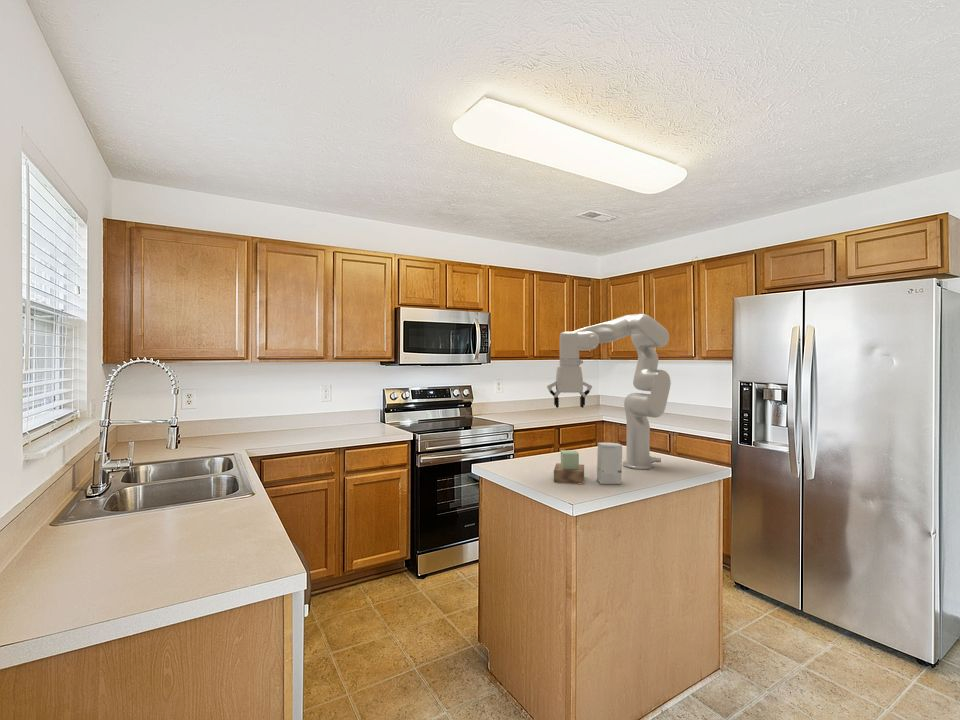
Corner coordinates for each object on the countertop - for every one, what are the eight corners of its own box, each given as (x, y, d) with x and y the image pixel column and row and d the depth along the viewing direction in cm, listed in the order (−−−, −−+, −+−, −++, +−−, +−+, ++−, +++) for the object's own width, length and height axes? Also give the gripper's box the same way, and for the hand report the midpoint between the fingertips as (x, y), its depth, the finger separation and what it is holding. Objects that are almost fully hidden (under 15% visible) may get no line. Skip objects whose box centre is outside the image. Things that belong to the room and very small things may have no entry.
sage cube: (575, 465, 191) (576, 450, 191) (578, 469, 185) (578, 453, 185) (560, 465, 191) (560, 450, 191) (563, 469, 185) (563, 453, 185)
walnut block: (584, 477, 192) (584, 464, 192) (583, 484, 182) (583, 471, 182) (556, 475, 195) (556, 463, 195) (554, 482, 184) (554, 469, 184)
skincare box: (600, 484, 181) (600, 445, 180) (596, 480, 187) (596, 441, 186) (622, 484, 181) (622, 444, 180) (618, 479, 187) (618, 441, 186)
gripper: (589, 362, 191) (589, 405, 191) (545, 363, 191) (546, 406, 192) (593, 363, 183) (593, 408, 184) (548, 363, 184) (548, 408, 184)
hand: (569, 407), depth 188 cm, fingers open, 9 cm apart
